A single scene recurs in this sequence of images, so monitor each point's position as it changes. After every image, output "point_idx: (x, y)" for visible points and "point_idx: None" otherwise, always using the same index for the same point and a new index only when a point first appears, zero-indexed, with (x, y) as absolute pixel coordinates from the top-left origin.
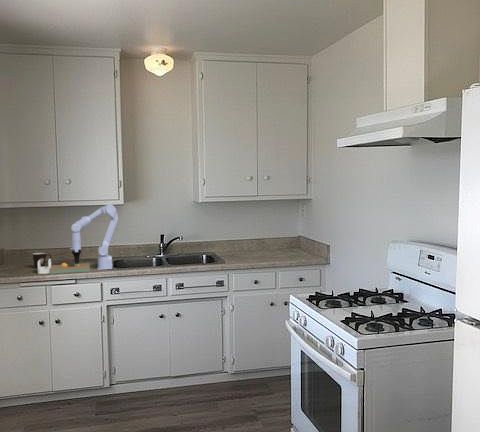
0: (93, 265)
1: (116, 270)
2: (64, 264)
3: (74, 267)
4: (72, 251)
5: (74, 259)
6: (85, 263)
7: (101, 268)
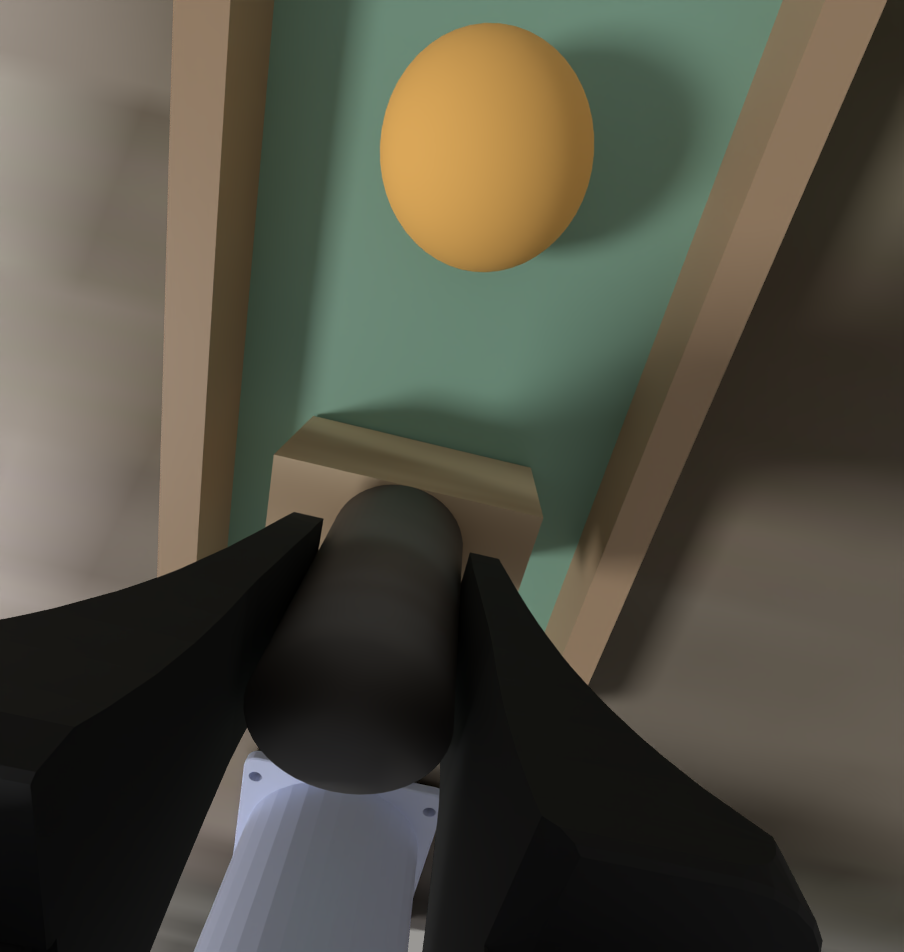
0: (777, 815)
1: None
2: (392, 136)
3: (171, 398)
4: (553, 842)
5: (373, 551)
6: None
7: (254, 809)
